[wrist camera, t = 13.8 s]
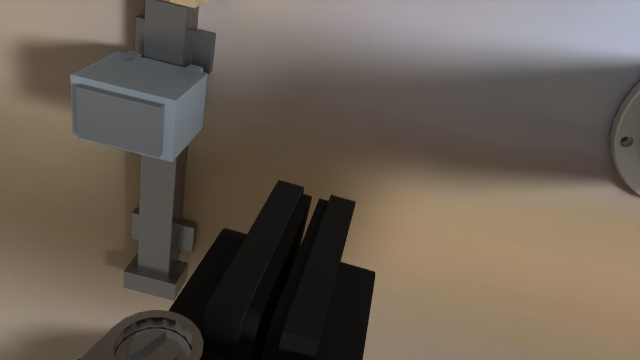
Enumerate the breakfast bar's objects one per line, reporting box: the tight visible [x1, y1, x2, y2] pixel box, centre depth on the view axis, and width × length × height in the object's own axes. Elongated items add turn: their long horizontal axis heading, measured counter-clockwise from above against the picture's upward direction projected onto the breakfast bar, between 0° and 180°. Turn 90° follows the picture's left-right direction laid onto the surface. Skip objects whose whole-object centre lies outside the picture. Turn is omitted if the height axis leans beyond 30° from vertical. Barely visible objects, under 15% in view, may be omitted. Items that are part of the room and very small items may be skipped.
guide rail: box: [124, 0, 216, 300], centre depth 43 cm, size 27×6×3 cm, turn 168°
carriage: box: [70, 50, 208, 162], centre depth 36 cm, size 4×7×8 cm, turn 78°
